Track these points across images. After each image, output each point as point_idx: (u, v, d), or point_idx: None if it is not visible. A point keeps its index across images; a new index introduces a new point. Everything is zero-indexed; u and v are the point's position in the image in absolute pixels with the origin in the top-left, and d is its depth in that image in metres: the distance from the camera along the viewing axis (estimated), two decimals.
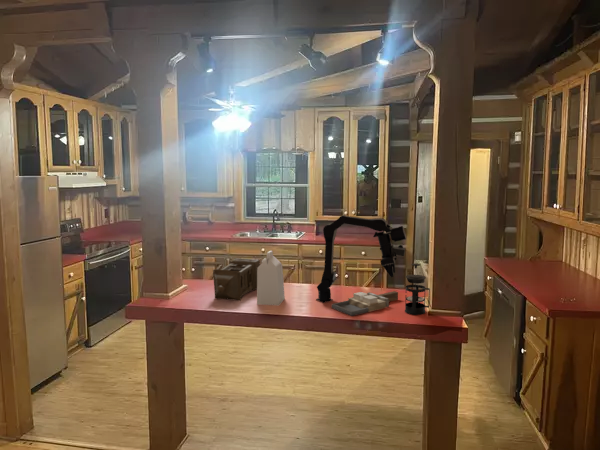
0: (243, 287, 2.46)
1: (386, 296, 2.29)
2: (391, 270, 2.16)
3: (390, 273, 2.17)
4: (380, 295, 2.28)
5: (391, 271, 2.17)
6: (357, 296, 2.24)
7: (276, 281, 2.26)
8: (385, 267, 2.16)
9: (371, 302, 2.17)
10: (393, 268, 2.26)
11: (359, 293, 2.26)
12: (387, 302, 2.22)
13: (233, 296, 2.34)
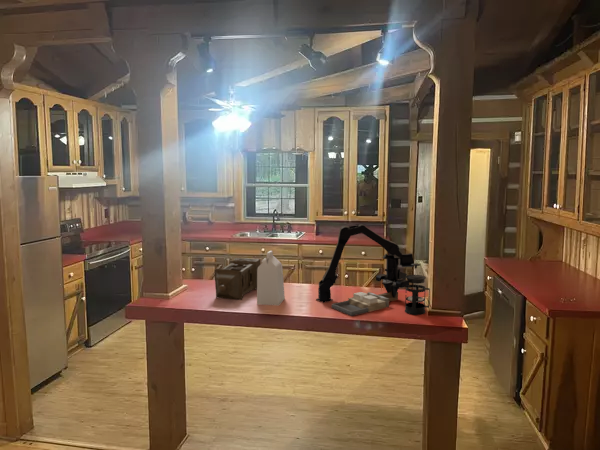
0: (244, 286, 2.47)
1: (386, 296, 2.29)
2: (396, 291, 2.31)
3: (394, 294, 2.31)
4: (380, 295, 2.28)
5: (396, 292, 2.31)
6: (357, 296, 2.24)
7: (276, 281, 2.26)
8: (394, 288, 2.29)
9: (371, 302, 2.17)
10: None
11: (359, 293, 2.26)
12: (387, 302, 2.22)
13: (234, 296, 2.35)
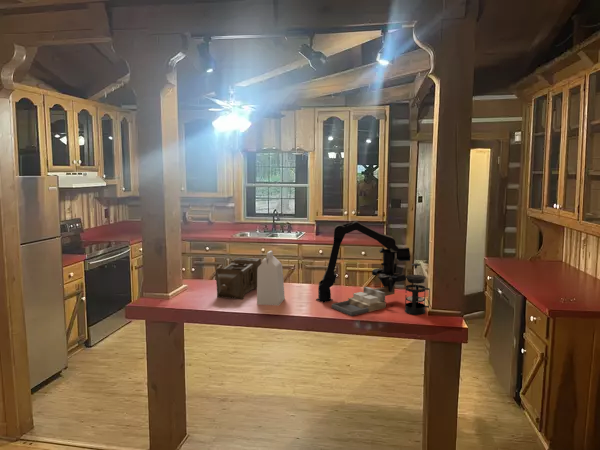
0: (245, 286, 2.48)
1: (382, 290, 2.28)
2: (392, 285, 2.29)
3: (391, 288, 2.29)
4: (376, 289, 2.26)
5: (392, 286, 2.29)
6: (357, 296, 2.24)
7: (276, 281, 2.26)
8: (390, 282, 2.27)
9: (371, 302, 2.17)
10: None
11: (359, 293, 2.26)
12: (383, 296, 2.20)
13: (236, 295, 2.36)
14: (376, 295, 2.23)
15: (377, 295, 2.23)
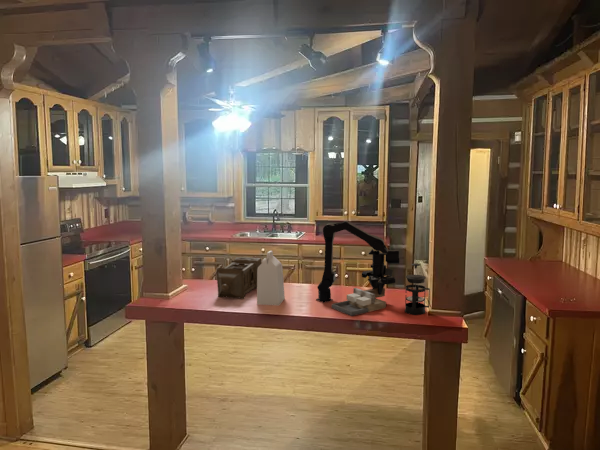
0: (246, 285, 2.49)
1: (373, 292, 2.24)
2: (382, 288, 2.25)
3: (380, 291, 2.25)
4: (366, 291, 2.23)
5: (382, 288, 2.26)
6: (350, 297, 2.22)
7: (276, 281, 2.26)
8: (379, 285, 2.23)
9: (365, 304, 2.15)
10: None
11: (352, 294, 2.24)
12: (373, 298, 2.17)
13: (237, 295, 2.37)
14: None
15: (367, 297, 2.19)
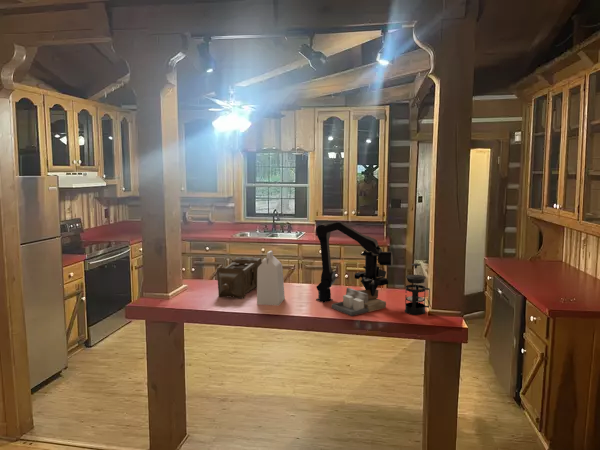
0: (246, 285, 2.49)
1: (366, 292, 2.21)
2: (375, 289, 2.23)
3: (373, 292, 2.23)
4: (360, 291, 2.20)
5: (375, 290, 2.23)
6: None
7: (276, 281, 2.26)
8: (372, 286, 2.21)
9: None
10: None
11: (345, 301, 2.22)
12: (366, 297, 2.14)
13: (237, 294, 2.37)
14: (359, 296, 2.17)
15: (360, 296, 2.17)
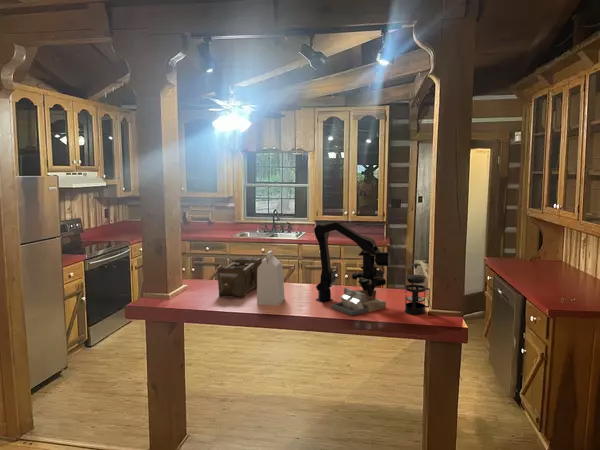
0: (246, 285, 2.50)
1: (363, 293, 2.21)
2: (372, 290, 2.22)
3: (370, 292, 2.22)
4: (357, 291, 2.19)
5: (372, 290, 2.22)
6: None
7: (276, 281, 2.26)
8: (370, 286, 2.20)
9: (362, 307, 2.14)
10: None
11: (344, 302, 2.22)
12: (363, 298, 2.13)
13: (237, 294, 2.38)
14: (356, 296, 2.16)
15: (357, 296, 2.16)
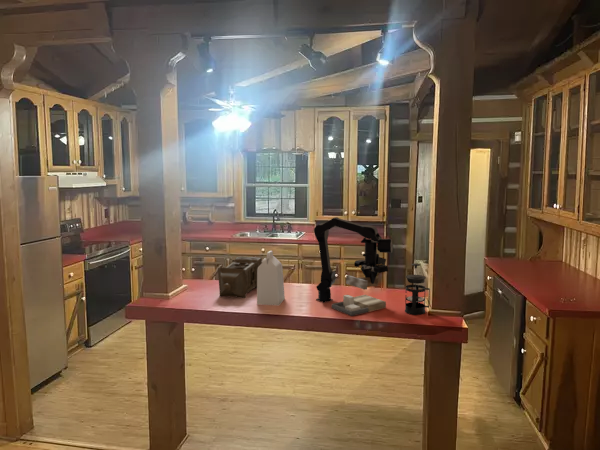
0: (247, 285, 2.50)
1: (365, 280, 2.20)
2: (375, 277, 2.22)
3: (373, 280, 2.22)
4: (359, 278, 2.19)
5: (374, 277, 2.22)
6: None
7: (276, 281, 2.26)
8: (372, 273, 2.20)
9: (358, 308, 2.13)
10: None
11: (345, 301, 2.22)
12: (366, 284, 2.13)
13: (238, 294, 2.38)
14: (358, 283, 2.16)
15: (359, 283, 2.16)
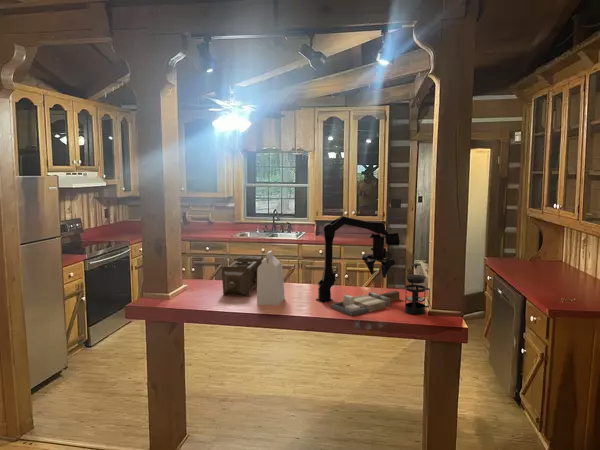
0: (250, 283, 2.53)
1: (387, 296, 2.30)
2: (386, 271, 2.29)
3: (385, 274, 2.29)
4: (381, 295, 2.28)
5: (386, 272, 2.29)
6: None
7: (276, 281, 2.26)
8: (384, 268, 2.27)
9: (358, 308, 2.13)
10: (372, 270, 2.38)
11: (345, 301, 2.22)
12: (388, 302, 2.22)
13: (243, 292, 2.41)
14: None
15: None
